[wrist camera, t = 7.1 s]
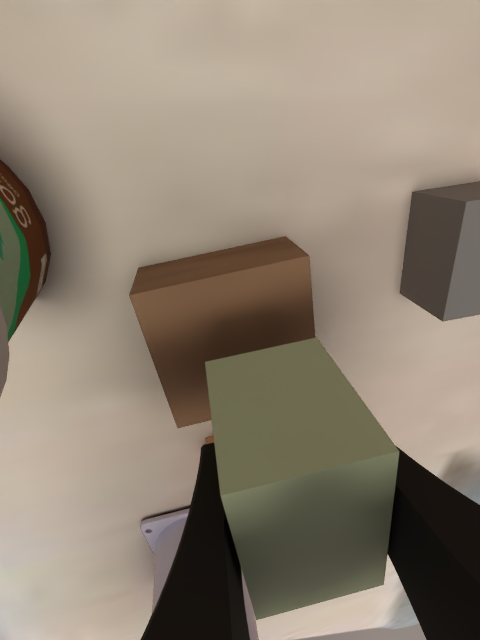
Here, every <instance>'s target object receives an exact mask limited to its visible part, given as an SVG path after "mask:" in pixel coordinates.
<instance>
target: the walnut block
mask: <svg viewBox="0 0 480 640" xmlns="http://www.w3.org/2000/svg"><path fill="white" fill-rule="evenodd" d="M129 296H130V299H131V302H132V304H133V307H134V310H135V313H136V315H137V318H138V321H139V324H140V326H141V329H142V332H143V335H144V337H145V340H146V343H147V346H148V348H149V351H150V354H151V357H152V359H153V362H154V365H155V368H156V370H157V373H158V376H159V379H160V381H161V384H162V387H163V390H164V392H165V395H166V398H167V401H168V403H169V406H170V409H171V411H172V414H173V417H174V420H175V422H176V425H177V428H181V427H185V426H189V425H193V424H197V423H201V422H205V421H209V420H212V418H211V410H210V401H209V393H208V384H207V375H206V367H205V362H207V361H211V360H216V359H221V358H225V357H230V356H234V355H239V354H243V353H248V352H253V351H257V350H262V349H266V348H271V347H275V346H280V345H285V344H289V343H294V342H298V341H303V340H307V339H312V338H315V329H314V315H313V301H312V288H311V274H310V260H309V255H308V254H307V253H305V252H304V251H303V250H302V249H301V248H299V247H298V246H297V245H296V244H294V243H293V242H292V241H291V240H289V239H288V238H287V237H286V236H285V237H280V238H276V239H271V240H266V241H262V242H257V243H252V244H248V245H243V246H238V247H234V248H229V249H224V250H220V251H215V252H211V253H206V254H201V255H197V256H192V257H187V258H183V259H178V260H173V261H169V262H164V263H159V264H155V265H150V266H146V267H141V268H138V271H137V274H136V277H135V280H134V283H133V286H132V289H131V292H130V294H129Z"/></svg>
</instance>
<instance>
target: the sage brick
mask: <svg viewBox="0 0 480 640" xmlns="http://www.w3.org/2000/svg"><path fill="white" fill-rule="evenodd" d="M205 367H206V375H207V384H208V393H209V401H210V410H211V418H212V427H213V436H214V444H215V453H216V461H217V470H218V478H219V487H220V496H221V499H222V503H223V506H224V510H225V513H226V517H227V520H228V524H229V527H230V530H231V534H232V537H233V541H234V544H235V548H236V551H237V555H238V558H239V562H240V565H241V569H242V572H243V576H244V579H245V582H246V586H247V589H248V593H249V596H250V600H251V603H252V607H253V610H254V614H255V617H256V620H258V619H262V618H266V617H269V616H273V615H276V614H280V613H284V612H287V611H291V610H294V609H298V608H302V607H305V606H309V605H312V604H316V603H320V602H323V601H327V600H330V599H334V598H338V597H341V596H345V595H348V594H352V593H356V592H359V591H363V590H366V589H370V588H374V587H377V586H381V585H384V578H385V570H386V561H387V553H388V544H389V536H390V527H391V519H392V510H393V502H394V493H395V485H396V476H397V468H398V459H399V450H398V449H397V447H396V446H395V445H394V443H393V442H392V441H391V439H390V438H389V436H388V435H387V434H386V432H385V431H384V430H383V428H382V427H381V425H380V424H379V423H378V421H377V420H376V418H375V417H374V416H373V414H372V413H371V412H370V410H369V409H368V407H367V406H366V405H365V403H364V402H363V401H362V399H361V398H360V396H359V395H358V394H357V392H356V391H355V390H354V388H353V387H352V385H351V384H350V383H349V381H348V380H347V379H346V377H345V376H344V374H343V373H342V372H341V370H340V369H339V367H338V366H337V365H336V363H335V362H334V361H333V359H332V358H331V356H330V355H329V354H328V352H327V351H326V350H325V348H324V347H323V345H322V344H321V343H320V341H319V340H318V339H317V338H312V339H307V340H303V341H298V342H294V343H289V344H285V345H280V346H275V347H271V348H266V349H262V350H257V351H253V352H248V353H243V354H239V355H234V356H230V357H225V358H221V359H216V360H211V361H207V362H205Z"/></svg>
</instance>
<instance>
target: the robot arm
mask: <svg viewBox="0 0 480 640" xmlns="http://www.w3.org/2000/svg"><path fill="white" fill-rule="evenodd" d="M396 447H397V446H396ZM397 449H398V450H399V459H398V468H397V476H396V485H395V493H394V502H393V510H392V519H391V527H390V536H389V544H388V555H389V557H390V559H391V561H392V563H393V565H394V567H395V570H396V572H397V574H398V576H399V578H400V581H401V583H402V585H403V587H404V589H405V592H406V594H407V596H408V598H409V600H410V603H411V605H412V607H413V610H414V612H415V614H416V616H417V619H418V621H419V623H420V625H421V627H422V630H423V632H424V635H425V637H426V639H427V640H480V505H479V504H477V503H476V502H474V501H472V500H471V499H469V498H468V497H466V496H465V495H463V494H462V493H460V492H458V491H457V490H455V489H454V488H452V487H451V486H449V485H448V484H446V483H445V482H444V481H442V480H441V479H439V478H438V477H436V476H435V475H434V474H432V473H431V472H429V471H428V470H427V469H425V468H424V467H422V466H421V465H420V464H419V463H417V462H416V461H415V460H413V459H412V458H411V457H409V456H408V455H407V454H406V453H404V452H403V451H402V450H400V449H399V448H398V447H397ZM140 529H141V531H142V532H143V534H144V536H145V538H146V540H147V542H148V544H149V546H150V548H151V550H152V552H153V553H154V555H155V572H154V588H153V605H152V616H151V618H150V620H149V623H148V625H147V627H146V629H145V632H144V634H143V636H142V638H141V640H259V639H258V633H257V627H256V620H255V614H254V610H253V607H252V603H251V600H250V596H249V593H248V589H247V586H246V582H245V579H244V576H243V572H242V569H241V565H240V562H239V558H238V555H237V551H236V548H235V544H234V541H233V537H232V534H231V530H230V527H229V524H228V520H227V517H226V513H225V510H224V506H223V503H222V499H221V496H220V487H219V478H218V470H217V461H216V453H215V444H214V442H213V443H209V444H205V445H203V446H202V447H201V456H200V463H199V470H198V475H197V480H196V485H195V489H194V493H193V497H192V501H191V505H190V508H189V509H185V510H181V511H177V512H173V513H169V514H165V515H161V516H157V517H153V518H149V519H146V520H143V521H142V522H141V525H140Z"/></svg>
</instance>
